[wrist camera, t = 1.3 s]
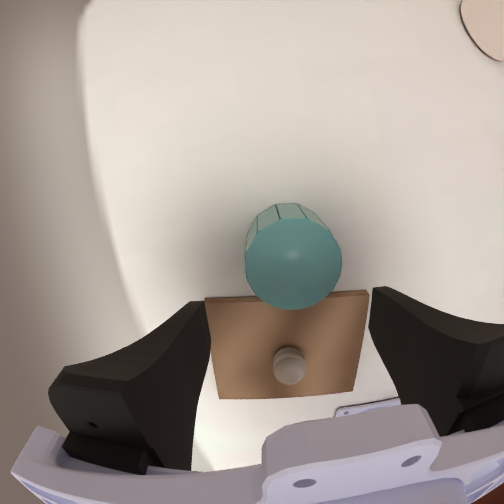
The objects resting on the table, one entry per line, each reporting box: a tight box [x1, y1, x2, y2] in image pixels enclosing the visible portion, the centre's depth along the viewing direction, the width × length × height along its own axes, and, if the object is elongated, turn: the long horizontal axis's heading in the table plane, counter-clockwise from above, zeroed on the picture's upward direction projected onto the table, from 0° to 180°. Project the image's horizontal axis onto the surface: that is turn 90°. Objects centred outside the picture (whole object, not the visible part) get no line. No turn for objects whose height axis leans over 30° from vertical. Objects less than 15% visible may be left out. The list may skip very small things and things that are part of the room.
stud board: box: [204, 290, 370, 399], centre depth 21 cm, size 12×10×4 cm
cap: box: [245, 203, 342, 310], centre depth 18 cm, size 5×5×4 cm
